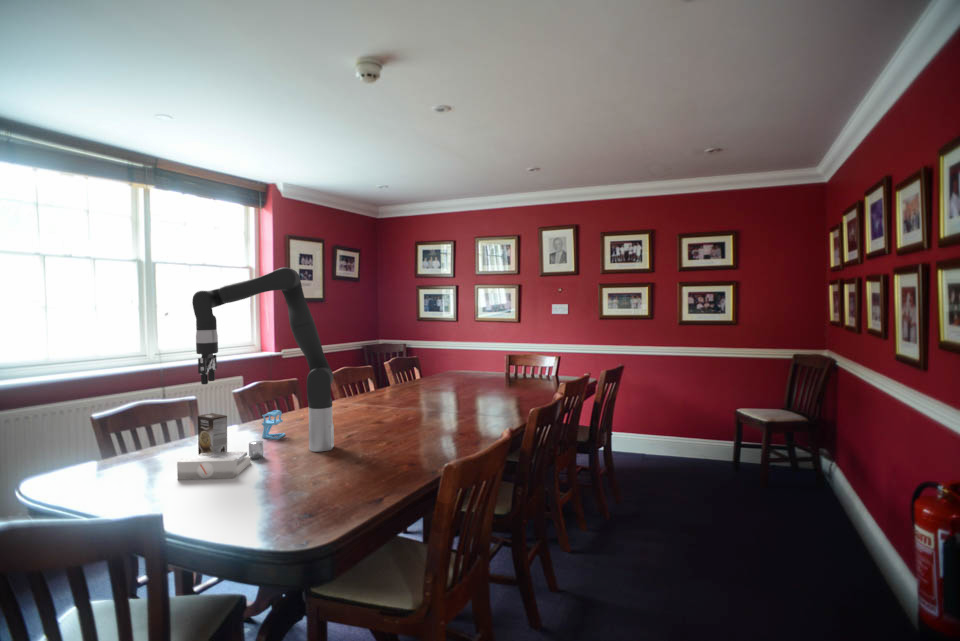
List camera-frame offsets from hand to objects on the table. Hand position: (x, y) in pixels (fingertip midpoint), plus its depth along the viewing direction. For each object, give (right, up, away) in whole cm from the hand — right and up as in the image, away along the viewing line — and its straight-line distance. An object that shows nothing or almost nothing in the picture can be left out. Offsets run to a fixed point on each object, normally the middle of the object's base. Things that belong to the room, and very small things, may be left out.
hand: (208, 382), depth 196 cm
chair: (+15, -27, +24) cm, 39 cm away
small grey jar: (+21, -28, -6) cm, 36 cm away
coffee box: (+4, -28, -5) cm, 29 cm away
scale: (+14, -29, -21) cm, 38 cm away
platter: (+14, -25, -19) cm, 34 cm away
